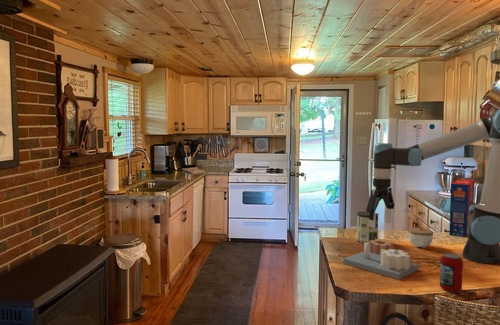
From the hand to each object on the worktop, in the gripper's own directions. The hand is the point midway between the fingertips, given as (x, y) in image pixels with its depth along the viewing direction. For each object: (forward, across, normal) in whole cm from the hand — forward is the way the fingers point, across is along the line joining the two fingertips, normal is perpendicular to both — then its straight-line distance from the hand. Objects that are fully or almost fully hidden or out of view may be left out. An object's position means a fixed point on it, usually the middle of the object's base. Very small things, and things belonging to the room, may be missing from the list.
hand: (380, 224), depth 170 cm
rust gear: (+13, 0, 0) cm, 13 cm away
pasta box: (+13, -72, +9) cm, 74 cm away
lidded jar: (+13, -25, +7) cm, 29 cm away
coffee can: (+13, -14, -15) cm, 24 cm away
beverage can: (+13, +19, +37) cm, 44 cm away
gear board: (+13, +16, +9) cm, 22 cm away
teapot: (+13, -128, -15) cm, 130 cm away
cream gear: (+11, +16, +15) cm, 25 cm away
